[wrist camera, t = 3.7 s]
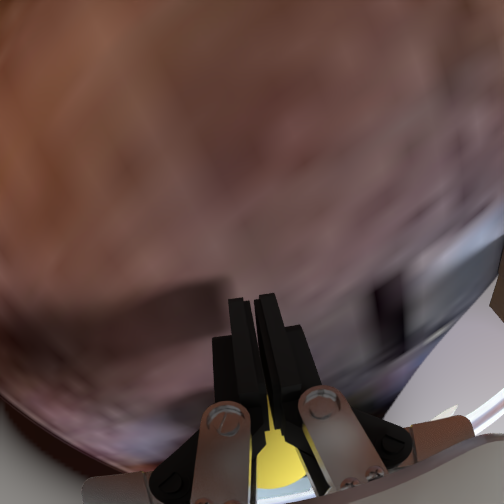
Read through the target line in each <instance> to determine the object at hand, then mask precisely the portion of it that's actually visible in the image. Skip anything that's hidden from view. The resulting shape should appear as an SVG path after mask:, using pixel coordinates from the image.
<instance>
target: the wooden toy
mask: <svg viewBox="0 0 504 504" xmlns="http://www.w3.org/2000/svg"><path fill="white" fill-rule="evenodd" d="M498 274H499V276H498V279H497V282H496V286H495V289H494V292H493V295H492V299H491V301H490V305H489V306H490V307H491V308H492V309H493V311H494V312H495V313H496V314H497V315H498V316H499V318H500V319H501V320H502V321H503V322H504V248H503V253H502V257H501V261H500V265H499V269H498Z"/></svg>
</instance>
